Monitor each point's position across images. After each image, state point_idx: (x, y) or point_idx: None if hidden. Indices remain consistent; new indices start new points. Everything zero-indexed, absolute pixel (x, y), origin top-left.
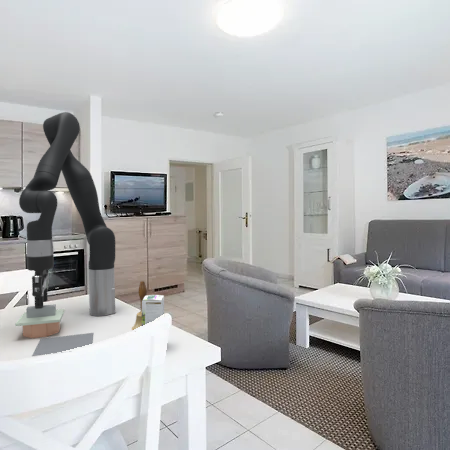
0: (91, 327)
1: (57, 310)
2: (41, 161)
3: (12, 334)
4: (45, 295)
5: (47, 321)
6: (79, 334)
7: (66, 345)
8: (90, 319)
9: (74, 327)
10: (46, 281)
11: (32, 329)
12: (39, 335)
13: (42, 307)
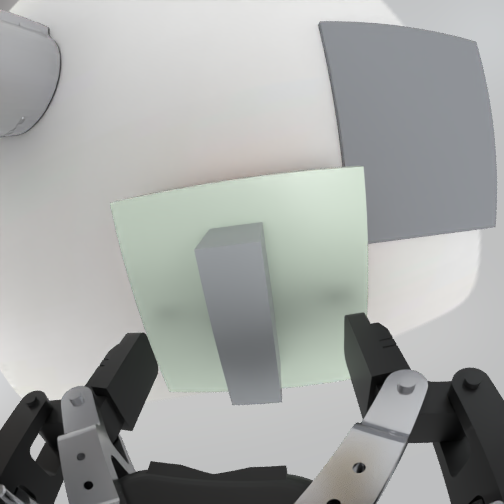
0: (207, 49)
1: (142, 238)
2: None
3: None
4: (130, 368)
5: (366, 239)
6: (334, 77)
7: (450, 121)
8: (87, 95)
9: (188, 131)
10: (119, 480)
11: None
12: None
13: (361, 314)
